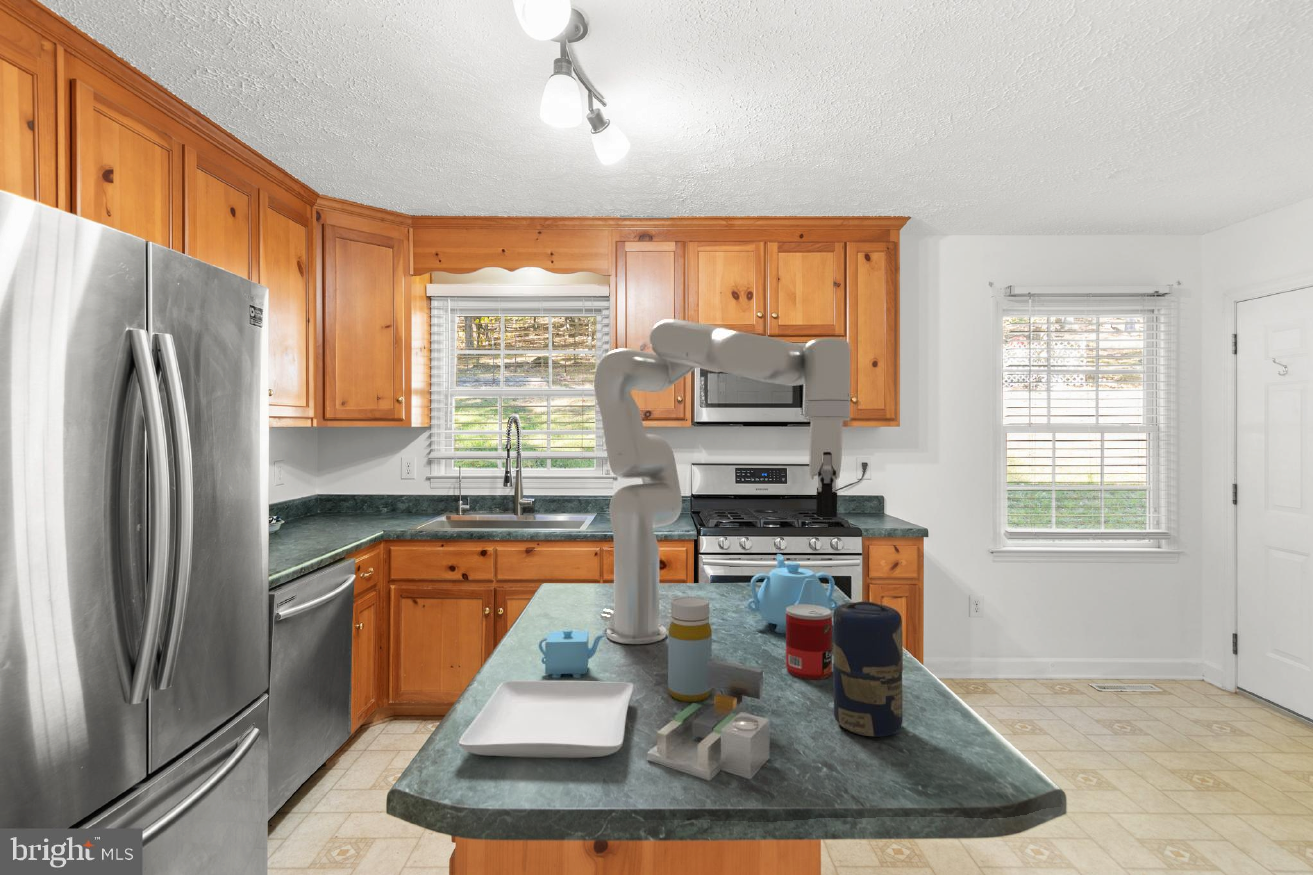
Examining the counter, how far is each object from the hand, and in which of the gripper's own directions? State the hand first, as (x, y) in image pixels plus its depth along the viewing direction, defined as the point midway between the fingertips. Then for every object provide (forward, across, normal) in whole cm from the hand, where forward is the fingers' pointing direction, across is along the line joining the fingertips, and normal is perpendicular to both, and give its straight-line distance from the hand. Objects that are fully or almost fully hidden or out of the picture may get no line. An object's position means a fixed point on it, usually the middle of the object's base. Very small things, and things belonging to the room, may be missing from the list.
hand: (826, 513), depth 105 cm
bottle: (+29, +10, -21) cm, 37 cm away
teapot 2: (+29, -31, -7) cm, 43 cm away
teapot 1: (+29, +7, -43) cm, 53 cm away
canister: (+29, +15, +6) cm, 33 cm away
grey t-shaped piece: (+27, +22, -14) cm, 38 cm away
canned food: (+29, -5, -3) cm, 30 cm away
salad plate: (+29, +27, -37) cm, 55 cm away
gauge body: (+29, +29, -14) cm, 43 cm away
